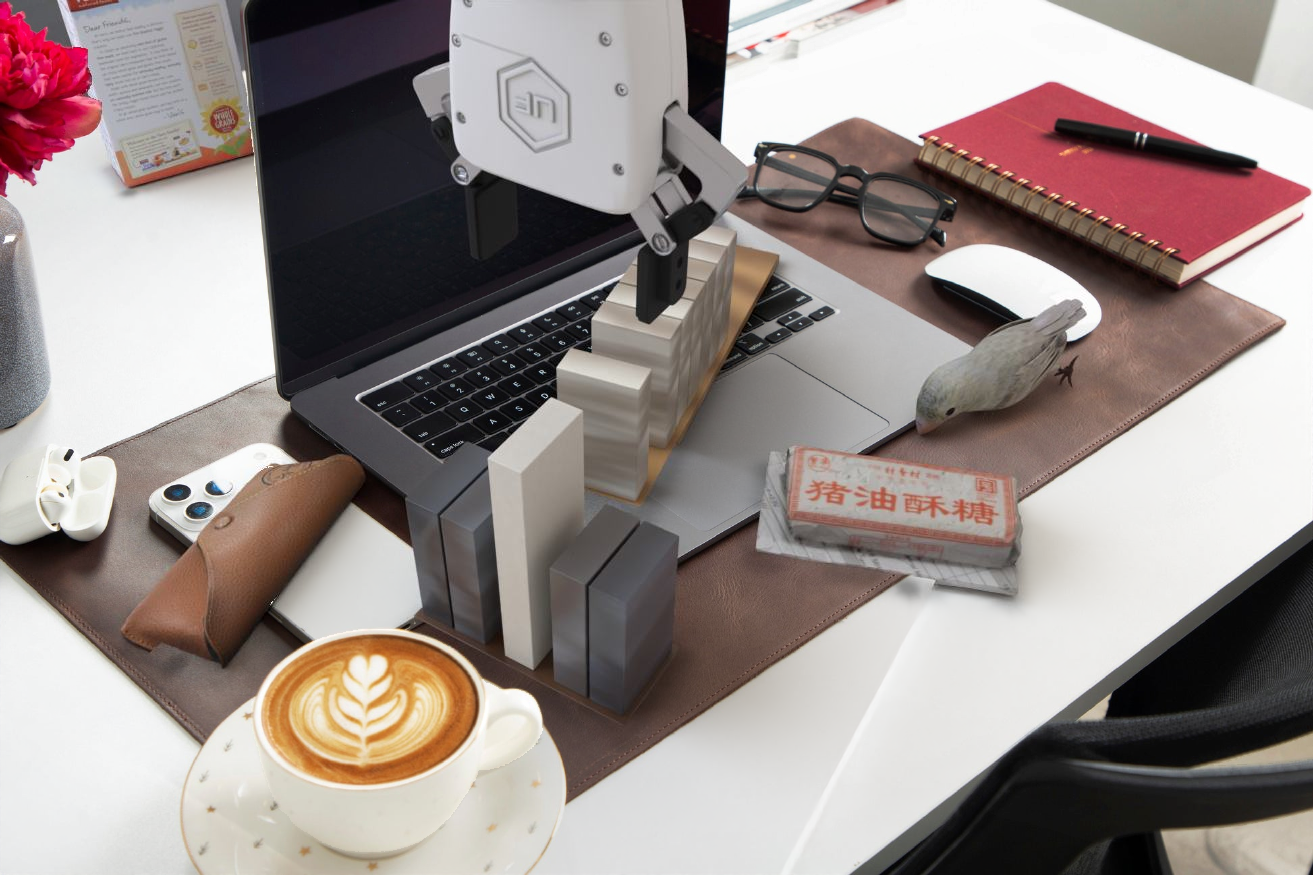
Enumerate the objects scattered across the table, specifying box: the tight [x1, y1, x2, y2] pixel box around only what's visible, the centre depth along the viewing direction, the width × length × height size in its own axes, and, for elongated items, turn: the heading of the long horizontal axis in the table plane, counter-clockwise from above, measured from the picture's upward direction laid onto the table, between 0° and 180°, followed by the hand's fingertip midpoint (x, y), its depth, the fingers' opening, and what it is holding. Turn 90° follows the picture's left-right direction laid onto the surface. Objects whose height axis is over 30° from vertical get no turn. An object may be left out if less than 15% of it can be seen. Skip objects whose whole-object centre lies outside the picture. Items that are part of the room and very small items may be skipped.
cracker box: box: [56, 0, 254, 188], centre depth 112 cm, size 14×6×21 cm, turn 126°
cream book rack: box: [556, 215, 780, 508], centre depth 92 cm, size 36×7×12 cm, turn 159°
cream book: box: [488, 397, 586, 670], centre depth 68 cm, size 2×6×17 cm, turn 150°
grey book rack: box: [404, 441, 682, 727], centre depth 70 cm, size 16×7×12 cm, turn 60°
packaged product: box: [755, 445, 1024, 596], centre depth 81 cm, size 18×5×10 cm
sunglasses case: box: [120, 453, 366, 669], centre depth 77 cm, size 18×7×7 cm, turn 162°
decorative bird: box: [915, 298, 1088, 436], centre depth 91 cm, size 5×16×8 cm, turn 123°
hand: (574, 277), depth 57 cm, fingers open, 9 cm apart
